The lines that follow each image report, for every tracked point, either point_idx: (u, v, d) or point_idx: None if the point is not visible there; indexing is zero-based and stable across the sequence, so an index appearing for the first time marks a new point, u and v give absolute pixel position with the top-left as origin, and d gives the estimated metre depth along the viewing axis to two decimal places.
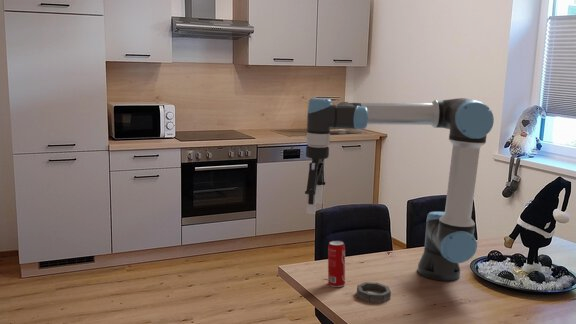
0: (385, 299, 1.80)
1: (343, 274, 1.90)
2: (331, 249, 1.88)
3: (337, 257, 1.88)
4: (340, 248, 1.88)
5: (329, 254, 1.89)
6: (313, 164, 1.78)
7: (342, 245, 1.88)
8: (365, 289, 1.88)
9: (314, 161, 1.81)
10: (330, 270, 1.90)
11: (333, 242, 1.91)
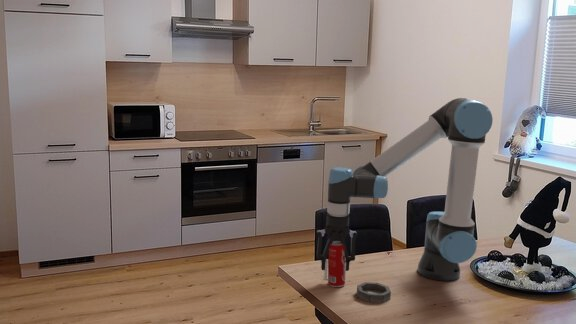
0: (385, 299, 1.80)
1: (343, 274, 1.90)
2: (330, 249, 1.88)
3: (337, 257, 1.88)
4: (339, 248, 1.88)
5: (329, 254, 1.89)
6: (317, 232, 1.89)
7: (342, 245, 1.88)
8: (365, 289, 1.88)
9: (325, 227, 1.89)
10: (330, 270, 1.90)
11: (333, 242, 1.91)
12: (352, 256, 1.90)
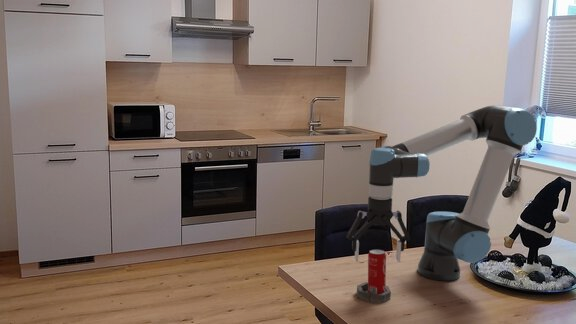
0: (385, 299, 1.80)
1: (384, 284, 1.81)
2: (371, 258, 1.80)
3: (378, 267, 1.79)
4: (381, 257, 1.79)
5: (370, 263, 1.81)
6: (358, 212, 1.79)
7: (383, 254, 1.80)
8: (365, 289, 1.88)
9: (367, 210, 1.79)
10: (370, 280, 1.81)
11: (373, 251, 1.83)
12: (406, 236, 1.80)
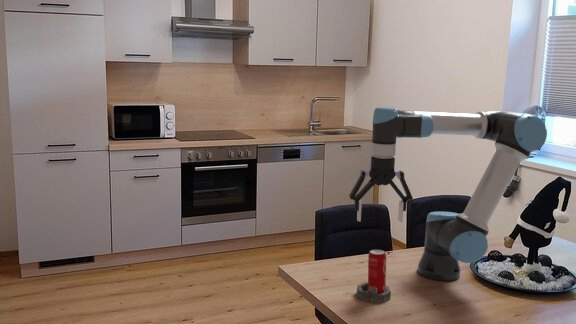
0: (385, 299, 1.80)
1: (384, 285, 1.81)
2: (372, 259, 1.80)
3: (378, 267, 1.79)
4: (381, 257, 1.79)
5: (370, 264, 1.81)
6: (361, 171, 1.79)
7: (384, 254, 1.80)
8: (365, 289, 1.88)
9: (370, 170, 1.79)
10: (371, 280, 1.81)
11: (373, 251, 1.82)
12: (408, 196, 1.80)
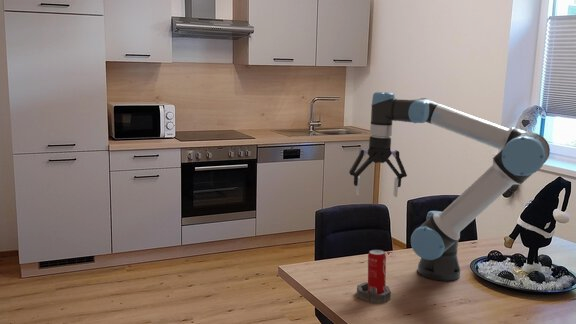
0: (385, 299, 1.80)
1: (384, 285, 1.81)
2: (371, 259, 1.80)
3: (378, 267, 1.79)
4: (381, 257, 1.79)
5: (369, 264, 1.81)
6: (360, 150, 1.98)
7: (383, 254, 1.80)
8: (365, 289, 1.88)
9: (369, 149, 1.98)
10: (370, 280, 1.81)
11: (373, 251, 1.82)
12: (403, 173, 1.98)
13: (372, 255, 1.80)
